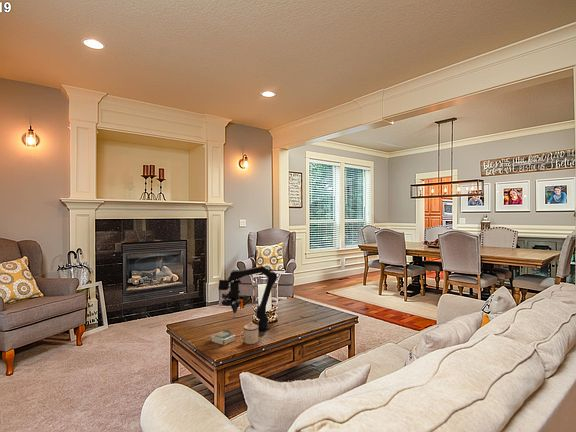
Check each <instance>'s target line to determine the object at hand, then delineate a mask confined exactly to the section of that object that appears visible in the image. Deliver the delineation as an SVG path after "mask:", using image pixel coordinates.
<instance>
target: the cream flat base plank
mask: <svg viewBox="0 0 576 432" xmlns="http://www.w3.org/2000/svg"><path fill="white" fill-rule="evenodd" d="M220 332H221V331H219V332H218V333H220ZM234 341H236V334H233V335H232V334H231V336H230V337H228V338H225V339H222V338H219V337H215V334H213V335H211V336H210V342H212V343H215V344H219V345H223V346H226V345H228V344H230V343H232V342H234Z"/></svg>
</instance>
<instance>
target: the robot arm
mask: <svg viewBox="0 0 576 432" xmlns="http://www.w3.org/2000/svg"><path fill="white" fill-rule="evenodd" d="M261 273H262V274H263V275H264V276H265V277H266V285H265V288H264V290H263V294H262V296H261V297H262V298H261V301H260V304H259V305H258V304H257V305H256V309H255V316H256V318H257V320H258V327H259V328H258V331H262V332H266V331H268V330H270V329H271V328H270V327H269V317H268V314H266V312H267V304H268V301H269V298H270V294H271V292H272V291H271V290H272V288H273V286H274V284H275V283H276V281H277V278H278V275H277V273H276V272H275V271H274V270H269V269H268V268H266V267H265V266H264V265H260V266H257V267H251V268H246V269H233V270H231V271H230V273H229V276H228V278H227V279H219V280H218V291H227V290H228V289H229V291H228V293H226V292H224V293H222V294H221V298H222V299H223V300H221V306H226V307H231V310H232V312H233V314H236V313H237V310H238V309H239V307H240V305H241V303H242V301H241V300H243V301H247V300H248V299H247V298H248V296H247V295H244V294H240V293H241V291H240V284H242V282H243V281H242V280H241V279H242V278H243V277H246V276H251V275H256V274H261Z"/></svg>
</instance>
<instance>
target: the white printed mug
mask: <svg viewBox="0 0 576 432" xmlns="http://www.w3.org/2000/svg"><path fill="white" fill-rule="evenodd" d="M258 328H259V324H255V323H254V322H252V321H250V322H249V323H247V324H245V325H244V326H243V331H241V332H240V333H239V338H240V339H241V340H243V342H244V344H247V345H254V344H257V343H258V342H259V330H258ZM242 335H243V337H242Z"/></svg>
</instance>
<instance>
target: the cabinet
mask: <svg viewBox="0 0 576 432" xmlns="http://www.w3.org/2000/svg"><path fill="white" fill-rule="evenodd" d="M219 332H220V333H219ZM219 332H217V333H216V334H214V335H215V337H219V338H222V339H225V338H228V337H230V336H232V333H231V332H232V331H231V330H228V329H222V331H219Z"/></svg>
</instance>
